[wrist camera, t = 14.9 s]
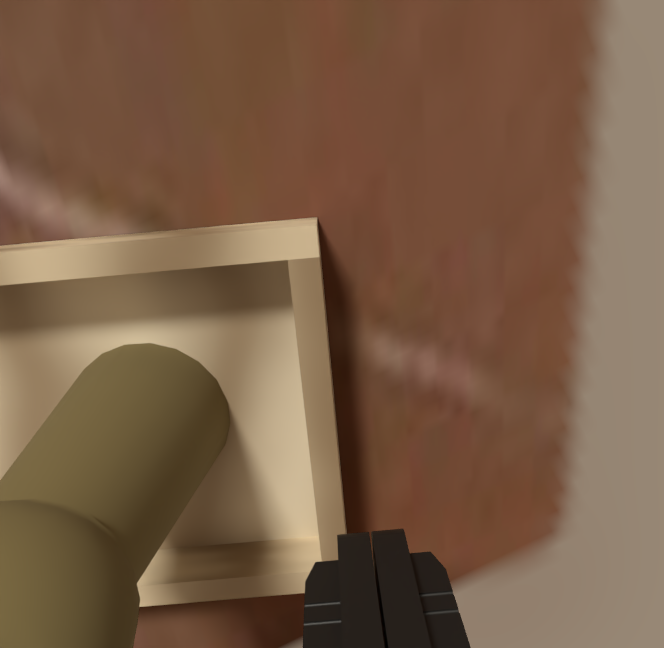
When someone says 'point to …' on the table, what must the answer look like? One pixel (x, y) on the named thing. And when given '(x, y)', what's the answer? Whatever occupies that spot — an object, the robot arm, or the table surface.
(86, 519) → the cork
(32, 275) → the birch tray
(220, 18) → the table surface
